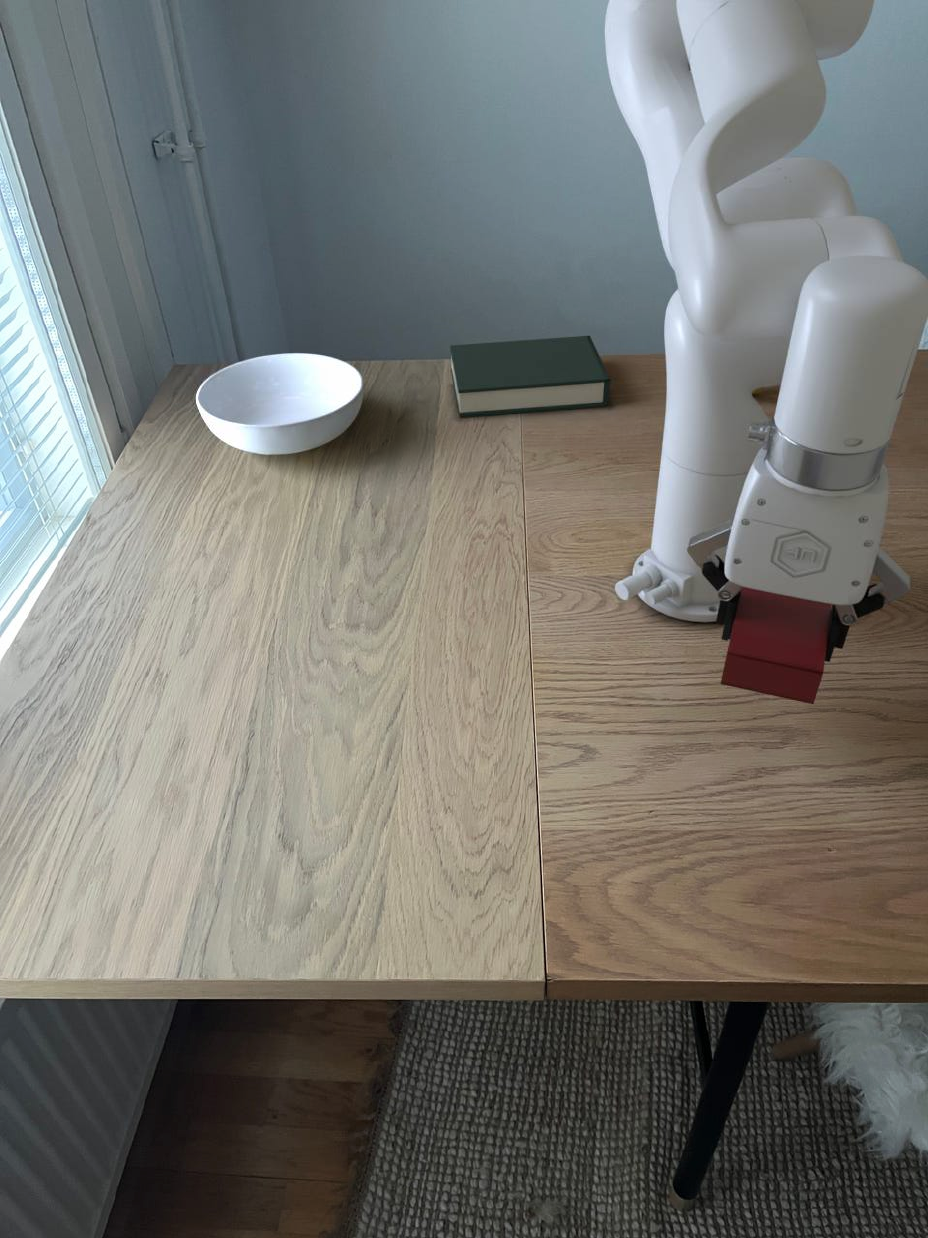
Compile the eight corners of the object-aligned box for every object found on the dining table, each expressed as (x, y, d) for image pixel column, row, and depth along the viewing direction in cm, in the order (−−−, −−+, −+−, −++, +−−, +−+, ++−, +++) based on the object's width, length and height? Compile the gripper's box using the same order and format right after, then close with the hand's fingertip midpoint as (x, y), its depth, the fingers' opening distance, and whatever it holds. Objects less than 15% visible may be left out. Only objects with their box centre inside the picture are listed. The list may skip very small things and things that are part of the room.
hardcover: (588, 361, 137) (589, 335, 135) (608, 406, 127) (610, 378, 124) (451, 371, 136) (449, 345, 134) (459, 417, 126) (458, 389, 123)
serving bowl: (389, 453, 119) (384, 403, 114) (223, 491, 113) (211, 440, 109) (343, 386, 134) (337, 339, 130) (195, 416, 128) (183, 369, 124)
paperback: (813, 704, 72) (823, 672, 70) (720, 684, 74) (727, 651, 72) (824, 613, 80) (833, 581, 78) (739, 596, 82) (746, 565, 79)
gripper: (687, 457, 64) (659, 647, 76) (965, 501, 60) (889, 696, 71) (705, 404, 69) (677, 589, 81) (962, 440, 65) (892, 632, 77)
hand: (776, 638), depth 76 cm, fingers closed on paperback, 7 cm apart
